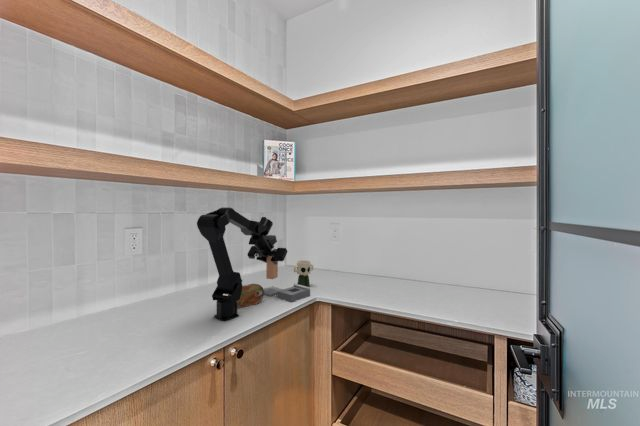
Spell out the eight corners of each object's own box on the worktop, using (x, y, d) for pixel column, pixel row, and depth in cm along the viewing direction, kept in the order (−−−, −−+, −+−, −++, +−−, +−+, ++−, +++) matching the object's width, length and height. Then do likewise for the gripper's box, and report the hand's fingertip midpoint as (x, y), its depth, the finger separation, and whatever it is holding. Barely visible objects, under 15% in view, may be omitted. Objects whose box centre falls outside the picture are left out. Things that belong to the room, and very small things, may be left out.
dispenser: (291, 302, 117) (291, 292, 117) (277, 297, 123) (277, 288, 123) (310, 295, 126) (310, 286, 126) (296, 291, 132) (296, 283, 132)
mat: (270, 296, 125) (270, 293, 125) (258, 292, 131) (258, 290, 131) (285, 291, 132) (285, 289, 132) (272, 288, 138) (272, 286, 138)
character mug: (296, 289, 136) (296, 263, 135) (291, 286, 142) (291, 261, 142) (316, 287, 141) (316, 261, 141) (309, 283, 147) (310, 259, 147)
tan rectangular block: (272, 279, 128) (273, 252, 128) (266, 278, 130) (266, 252, 130) (277, 277, 133) (277, 251, 133) (271, 276, 134) (271, 251, 134)
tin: (229, 310, 107) (229, 289, 107) (226, 308, 109) (226, 287, 109) (264, 302, 116) (264, 282, 116) (260, 300, 119) (260, 281, 119)
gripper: (285, 230, 124) (296, 251, 134) (251, 229, 131) (263, 249, 141) (276, 250, 117) (288, 270, 127) (240, 247, 124) (254, 267, 134)
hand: (273, 263), depth 132 cm, fingers closed on tan rectangular block, 3 cm apart
